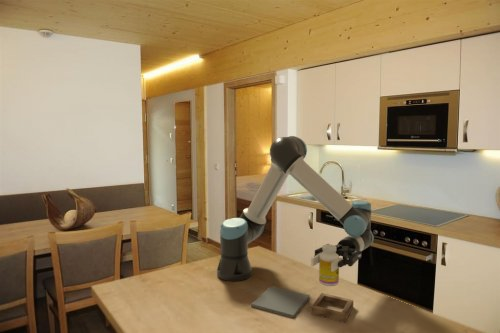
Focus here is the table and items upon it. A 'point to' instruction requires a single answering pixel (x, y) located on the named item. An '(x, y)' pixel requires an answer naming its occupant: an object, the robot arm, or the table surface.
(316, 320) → the table surface
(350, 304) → the locating collar
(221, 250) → the robot arm
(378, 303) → the table surface
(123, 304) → the table surface
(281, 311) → the slate mat
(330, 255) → the supplement bottle
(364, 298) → the table surface
